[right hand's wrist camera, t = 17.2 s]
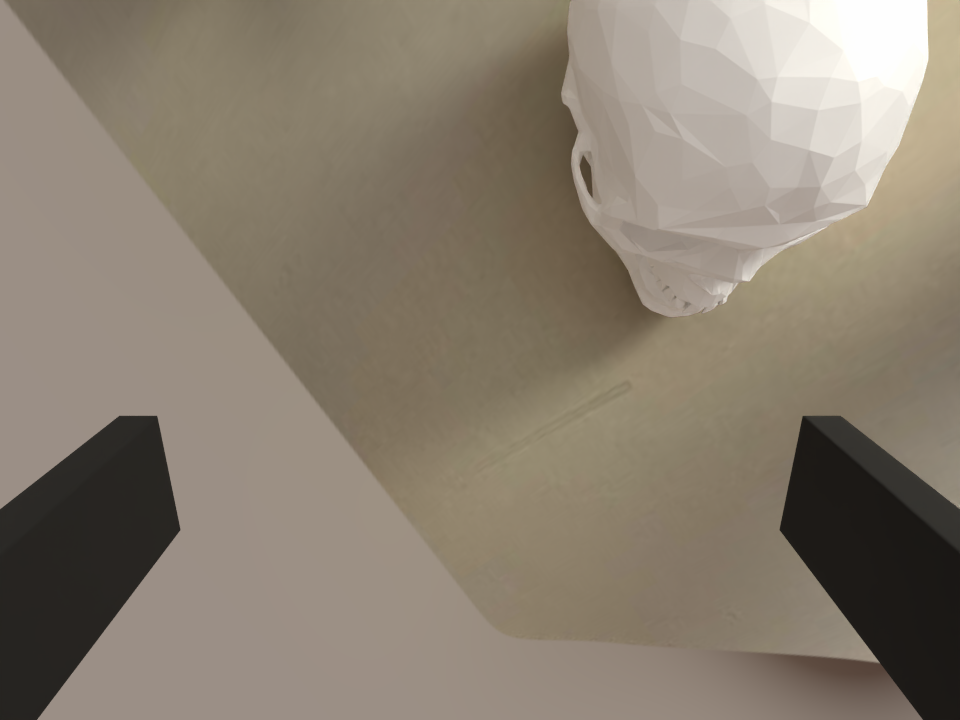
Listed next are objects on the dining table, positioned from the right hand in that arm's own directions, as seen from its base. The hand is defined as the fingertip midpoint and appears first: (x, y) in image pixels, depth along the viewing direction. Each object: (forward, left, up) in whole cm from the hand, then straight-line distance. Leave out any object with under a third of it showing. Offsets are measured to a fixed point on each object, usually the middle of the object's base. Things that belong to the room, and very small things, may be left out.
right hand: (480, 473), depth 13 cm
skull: (-7, +11, -27) cm, 30 cm away
